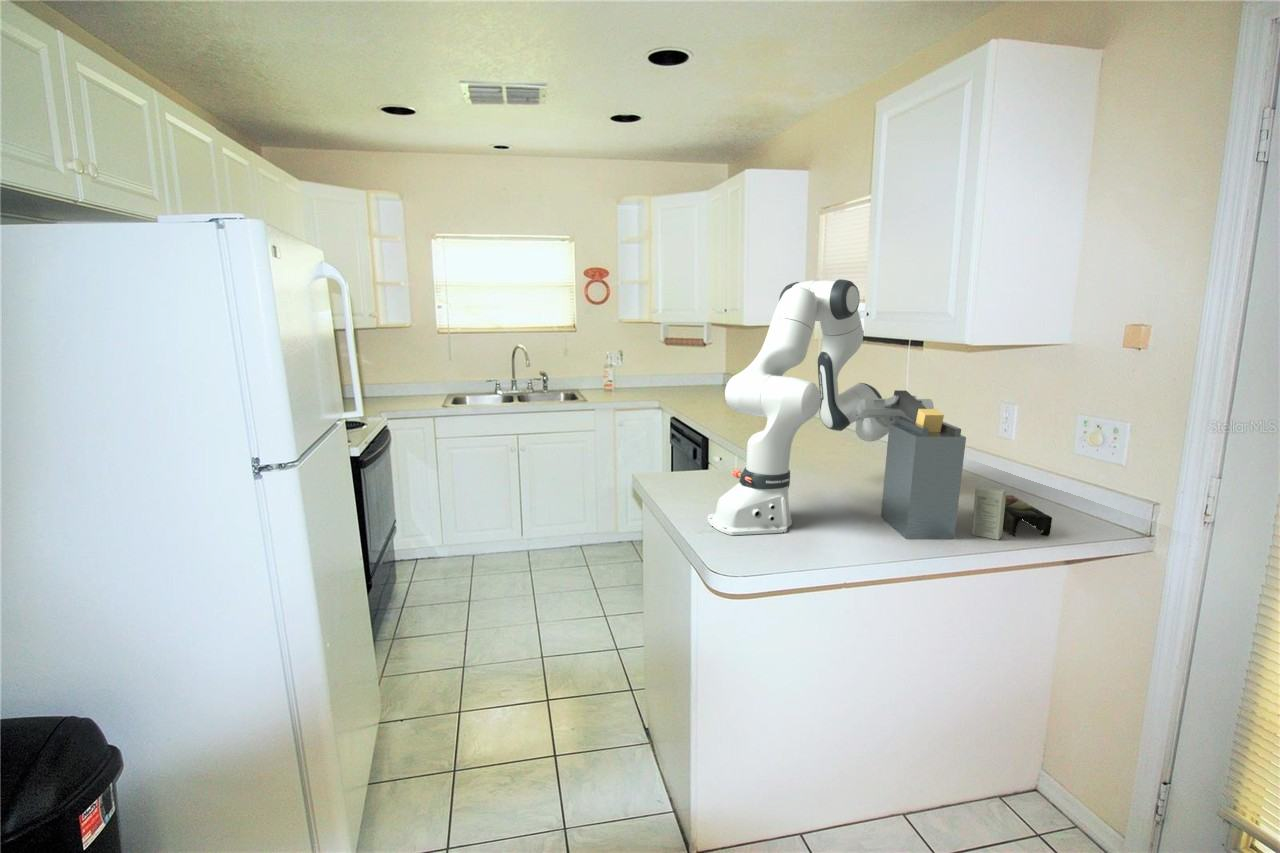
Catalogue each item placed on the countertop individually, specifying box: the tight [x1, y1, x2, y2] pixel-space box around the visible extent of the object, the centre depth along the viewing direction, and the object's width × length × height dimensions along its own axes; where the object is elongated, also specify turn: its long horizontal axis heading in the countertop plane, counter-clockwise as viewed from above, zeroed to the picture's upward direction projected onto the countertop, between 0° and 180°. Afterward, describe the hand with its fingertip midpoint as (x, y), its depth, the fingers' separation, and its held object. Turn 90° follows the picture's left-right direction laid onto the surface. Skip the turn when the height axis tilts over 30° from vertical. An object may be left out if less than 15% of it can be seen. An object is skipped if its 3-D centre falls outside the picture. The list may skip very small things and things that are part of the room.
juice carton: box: [1003, 494, 1053, 537], centre depth 163 cm, size 20×10×6 cm, turn 176°
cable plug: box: [893, 389, 945, 432], centre depth 160 cm, size 21×5×5 cm, turn 0°
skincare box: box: [971, 485, 1007, 541], centre depth 153 cm, size 6×4×12 cm
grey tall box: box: [880, 416, 967, 540], centre depth 157 cm, size 16×12×28 cm
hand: (905, 398), depth 166 cm, fingers closed on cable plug, 3 cm apart
